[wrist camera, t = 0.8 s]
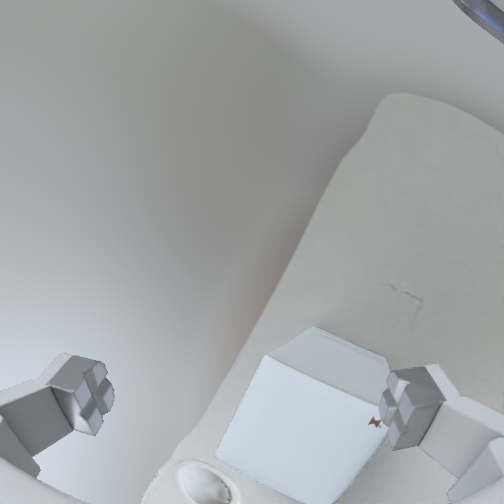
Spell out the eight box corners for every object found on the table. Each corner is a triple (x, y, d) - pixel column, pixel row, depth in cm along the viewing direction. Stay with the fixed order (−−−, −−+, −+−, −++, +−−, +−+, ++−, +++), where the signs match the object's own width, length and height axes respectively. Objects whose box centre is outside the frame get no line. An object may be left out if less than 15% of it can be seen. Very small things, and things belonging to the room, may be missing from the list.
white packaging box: (312, 323, 24) (264, 347, 13) (389, 357, 22) (409, 414, 10) (277, 393, 25) (208, 456, 13) (348, 428, 22) (326, 516, 10)
